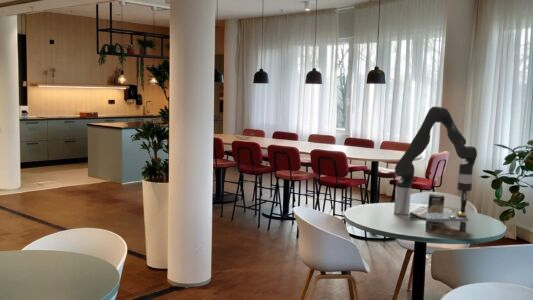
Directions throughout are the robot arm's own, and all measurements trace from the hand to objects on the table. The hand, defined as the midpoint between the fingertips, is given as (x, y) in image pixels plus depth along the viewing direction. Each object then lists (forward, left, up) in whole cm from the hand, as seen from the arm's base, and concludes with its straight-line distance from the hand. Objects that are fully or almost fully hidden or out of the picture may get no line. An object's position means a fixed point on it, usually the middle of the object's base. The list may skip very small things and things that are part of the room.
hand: (462, 212), depth 306 cm
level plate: (-8, 0, -4) cm, 9 cm away
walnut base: (-8, 0, -12) cm, 14 cm away
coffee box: (-14, +19, -12) cm, 27 cm away
